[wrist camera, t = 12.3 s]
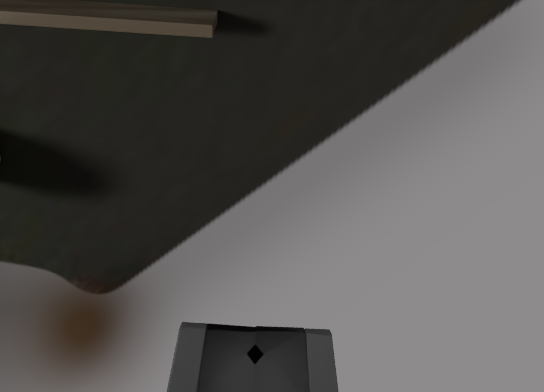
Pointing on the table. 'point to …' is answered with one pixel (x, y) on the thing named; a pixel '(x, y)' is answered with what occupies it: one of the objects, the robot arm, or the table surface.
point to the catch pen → (110, 17)
